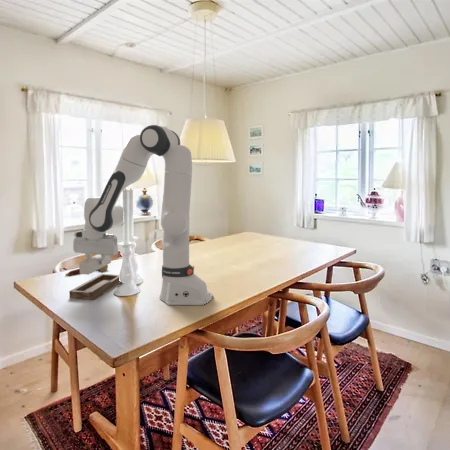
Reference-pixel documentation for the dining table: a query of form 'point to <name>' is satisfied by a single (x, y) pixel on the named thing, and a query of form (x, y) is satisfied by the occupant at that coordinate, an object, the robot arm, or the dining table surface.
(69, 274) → the gavel
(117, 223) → the robot arm
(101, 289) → the brown wooden tray
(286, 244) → the dining table surface
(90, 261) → the clay strip
